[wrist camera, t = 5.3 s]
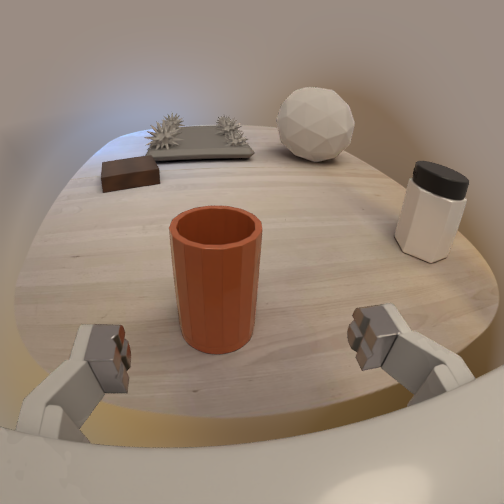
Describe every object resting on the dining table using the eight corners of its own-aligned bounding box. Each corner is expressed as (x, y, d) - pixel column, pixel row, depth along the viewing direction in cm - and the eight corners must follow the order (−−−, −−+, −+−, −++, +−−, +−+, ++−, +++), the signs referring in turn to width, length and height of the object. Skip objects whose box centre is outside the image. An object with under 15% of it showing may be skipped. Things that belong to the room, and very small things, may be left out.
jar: (417, 230, 46) (436, 161, 40) (454, 255, 40) (479, 182, 33) (383, 238, 43) (402, 159, 36) (423, 268, 36) (451, 183, 30)
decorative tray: (255, 162, 70) (257, 120, 65) (141, 166, 65) (139, 123, 60) (234, 133, 99) (235, 105, 94) (156, 136, 94) (155, 107, 89)
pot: (193, 362, 23) (181, 256, 18) (173, 310, 28) (162, 212, 23) (265, 341, 26) (278, 238, 20) (237, 296, 31) (240, 201, 25)
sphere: (313, 177, 85) (347, 123, 83) (341, 175, 66) (380, 109, 63) (256, 139, 81) (294, 85, 79) (269, 125, 62) (315, 60, 59)
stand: (103, 192, 52) (101, 177, 50) (103, 175, 60) (102, 162, 58) (160, 183, 56) (159, 168, 54) (152, 168, 64) (151, 155, 63)
